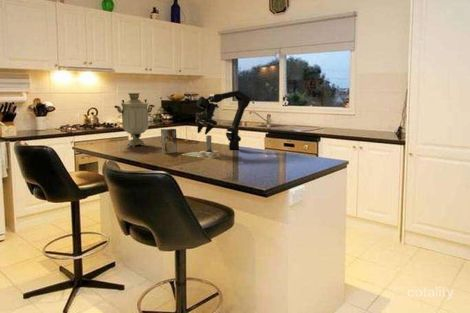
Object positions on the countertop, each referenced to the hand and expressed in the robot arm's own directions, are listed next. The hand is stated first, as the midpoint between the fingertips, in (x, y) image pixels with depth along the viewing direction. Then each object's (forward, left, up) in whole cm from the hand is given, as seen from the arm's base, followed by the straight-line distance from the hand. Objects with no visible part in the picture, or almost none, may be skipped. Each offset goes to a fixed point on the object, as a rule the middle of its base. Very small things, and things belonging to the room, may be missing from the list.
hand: (201, 133), depth 264 cm
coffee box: (+23, -9, -14) cm, 28 cm away
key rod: (-5, +14, -13) cm, 20 cm away
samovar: (+53, -46, -14) cm, 71 cm away
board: (0, +10, -14) cm, 17 cm away
